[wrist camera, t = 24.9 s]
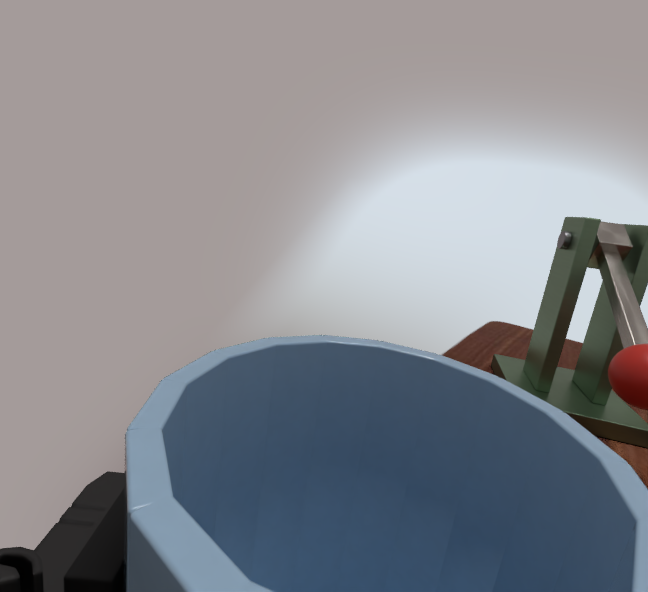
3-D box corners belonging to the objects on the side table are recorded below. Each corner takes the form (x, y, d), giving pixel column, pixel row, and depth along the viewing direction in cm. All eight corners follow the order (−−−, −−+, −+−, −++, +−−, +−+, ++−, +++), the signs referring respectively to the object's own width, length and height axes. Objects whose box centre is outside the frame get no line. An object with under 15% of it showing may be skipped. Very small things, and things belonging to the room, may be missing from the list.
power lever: (676, 430, 21) (723, 395, 18) (602, 413, 22) (638, 378, 19) (614, 256, 31) (639, 218, 29) (565, 249, 32) (585, 212, 29)
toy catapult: (650, 448, 27) (733, 234, 23) (512, 416, 29) (568, 213, 25) (592, 387, 36) (644, 228, 33) (490, 365, 38) (529, 213, 35)
